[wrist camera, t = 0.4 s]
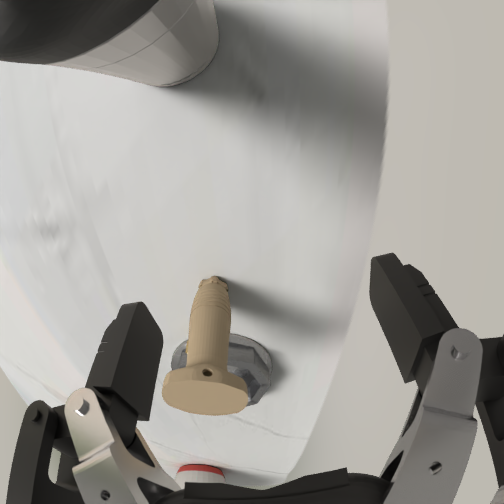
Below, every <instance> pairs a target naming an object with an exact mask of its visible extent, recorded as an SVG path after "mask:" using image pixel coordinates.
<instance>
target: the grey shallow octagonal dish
mask: <svg viewBox="0 0 504 504" xmlns="http://www.w3.org/2000/svg"><path fill="white" fill-rule="evenodd" d="M187 352H188V340H186V341H184V342H183V343H182V344H180V345H179V346H178V347H177V349H176V350H175V352H174V354H173V356H172V362H171V368H172V370H176V369H180V368H184V367H186V364H187ZM227 370H228V372H230V373H232V374H234V375H236V376H238V377H240V378H242V379H243V380H244V381H245V383H246V385H247V390H248V403H247V405H246V406H250V405H253V404H257V403H258V402H259V400H260V399H261V398H262V396H263V395H264V393H265V392H266V391H267V389H268V388H269V387H270V385H271V383H270V375H271V372H272V362H271V358H270V356H269V354H268V352H267V351H266V350H265V349H264V348H263V347H262V346H261V345H260V344H258V343H257V342H255V341H253V340H251V339H249V338H246V337H244V336H240V335H236V334H231V333H230V336H229V347H228V362H227Z"/></svg>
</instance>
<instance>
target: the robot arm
mask: <svg viewBox="0 0 504 504" xmlns="http://www.w3.org/2000/svg"><path fill="white" fill-rule="evenodd" d="M218 43H219V30H218V25H217V19H216V14H215V9H214V4H213V0H0V60H1V61H7V62H16V63H29V64H44V65H52V66H60V67H67V68H73V69H80V70H86V71H91V72H96V73H101V74H106V75H111V76H115V77H119V78H124V79H128V80H132V81H135V82H139V83H143V84H147V85H152V86H158V87H165V86H173V85H178V84H181V83H183V82H186V81H188V80H190V79H192V78H193V77H195V76H197V75H198V74H199V73H201V72H202V71H203V70H204V69H205V68H206V67H207V66H208V64H209V63H210V62H211V60H212V59H213V57H214V55H215V53H216V51H217V47H218ZM369 292H370V301H371V305H372V307H373V310H374V312H375V314H376V316H377V318H378V321H379V323H380V325H381V327H382V330H383V332H384V334H385V336H386V339H387V341H388V343H389V346H390V348H391V350H392V352H393V355H394V357H395V360H396V362H397V365H398V367H399V370H400V372H401V375H402V377H403V380H404V382H405V383H408V382H411V381H414V380H416V383H417V385H418V389H417V392H416V395H415V398H414V401H413V404H412V406H411V409H410V412H409V415H408V417H407V420H406V422H405V425H404V428H403V430H402V432H401V435H400V437H399V439H398V441H397V443H396V445H395V447H394V449H393V450H392V453H391V454H390V456H389V458H388V460H387V462H386V464H385V466H384V468H383V470H382V472H381V474H380V476H379V477H376V476H373V475H368V474H361V473H347V468H342V469H338V470H333V471H329V472H323V473H318V474H313V475H307V476H303V477H301V478H298V479H296V480H293V481H290V482H288V483H285V484H282V485H279V486H276V487H273V488H270V489H266V490H256V489H250V488H244V487H239V486H234V485H229V484H225V483H198V482H185V486H184V489H181V488H180V486H179V485H178V484H177V483H176V482H175V480H174V479H173V478H172V477H170V476H169V475H168V474H167V473H166V472H165V471H164V470H163V469H162V467H161V466H160V464H159V463H158V461H157V460H156V458H155V457H154V455H153V453H152V452H151V450H150V448H149V447H148V445H147V443H146V442H145V440H144V438H143V436H142V435H141V433H140V431H139V430H138V429H137V428H136V424H137V420H138V421H149V418H150V412H151V406H152V400H153V394H154V389H155V383H156V378H157V373H158V368H159V363H160V358H161V353H162V348H163V335H162V332H161V330H160V328H159V326H158V325H157V323H156V321H155V320H154V318H153V317H152V315H151V313H150V312H149V310H148V308H147V307H146V305H145V304H144V303H143V302H136V303H129V304H124V305H122V306H121V308H120V310H119V313H118V315H117V318H116V319H115V320H113V321H112V323H111V324H110V325H109V326H108V328H107V329H106V330H105V333H104V335H103V338H102V341H101V344H100V346H99V349H98V353H97V354H96V357H95V360H94V362H93V365H92V368H91V371H90V374H89V377H88V380H87V383H86V386H85V388H81V389H78V390H76V391H75V392H73V393H72V394H71V395H70V396H69V398H68V399H67V401H66V404H65V405H62V406H58V407H54V408H51V407H50V406H49V405H47V404H46V403H45V402H44V401H41V400H37V401H35V402H33V403H32V404H31V405H30V406H29V407H28V408H27V410H26V412H25V415H24V418H23V422H22V426H21V429H20V433H19V437H18V441H17V444H16V449H15V453H14V458H13V462H12V468H11V473H10V479H9V485H8V492H7V500H6V504H452V503H453V500H454V498H455V496H456V493H457V491H458V488H459V486H460V483H461V480H462V477H463V475H464V472H465V469H466V466H467V463H468V460H469V457H470V454H471V450H472V447H473V443H474V440H475V436H476V432H477V420H476V419H475V418H473V411H474V406H475V404H476V407H477V410H478V413H479V416H480V419H481V422H482V425H483V428H484V431H485V434H486V437H487V441H488V444H489V448H490V451H491V455H492V459H493V463H494V467H495V471H496V476H497V481H498V485H499V489H498V491H497V492H496V494H495V496H494V498H493V500H492V501H491V503H490V504H504V335H503V337H498V338H488V339H479V338H478V337H477V336H476V335H475V334H474V333H473V332H471V331H469V330H467V329H462V328H459V327H458V326H457V324H456V323H455V321H454V320H453V318H452V317H451V315H450V313H449V312H448V310H447V309H446V307H445V306H444V304H443V303H442V301H441V300H440V298H439V297H438V295H437V294H435V291H434V289H433V288H432V286H431V285H429V282H428V281H427V279H426V278H425V277H424V275H423V274H422V272H420V271H419V270H417V269H416V268H414V267H413V266H411V265H410V264H408V265H404V266H403V265H402V263H401V262H400V260H399V259H398V258H397V256H396V255H395V254H394V253H389V254H385V255H380V256H376V257H373V258H372V259H371V273H370V291H369ZM52 447H53V448H55V449H57V450H58V451H60V452H61V458H60V464H59V469H58V476H57V481H56V483H55V484H54V483H53V482H51V480H50V479H49V476H48V469H49V463H50V458H51V452H52Z"/></svg>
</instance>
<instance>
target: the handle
mask: <svg viewBox="0 0 504 504" xmlns="http://www.w3.org/2000/svg"><path fill="white" fill-rule="evenodd" d="M227 292H228V287H227V284H226V283H225V282H222V281H220V280H219V279H218V277H215V276H212V277H211V278H210V279H207V280H202V281H201V282H200V284H199V290H198V292H197V293H196V296H195V298H194V301H193V305H192V309H191V314H190V323H189V339H188V352H187V364H186V367H184V368H180V369H176V370H172V371H170V372H169V373H168V374H167V375H166V377H165V379H164V383H163V388H162V397H163V399H164V401H165V402H166V403H167V404H168V405H169V406H172V407H174V408H177V409H180V410H183V411H186V412H189V413H194V414H202V415H214V416H216V415H227V414H233V413H238V412H240V411H242V410H243V409H244V408H245V407H246V405H247V403H248V390H247V385H246V383H245V381H244V380H243V379H242V378H240V377H238V376H236V375H234V374H232V373H230V372H228V370H227V362H228V347H229V336H230V326H231V308H230V300H229V296H228V293H227Z"/></svg>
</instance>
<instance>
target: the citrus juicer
mask: <svg viewBox="0 0 504 504" xmlns="http://www.w3.org/2000/svg"><path fill="white" fill-rule="evenodd" d="M175 482H176V483H177V484H178V485H179V486H180V488H181V489H184V486H185V482H198V483H225V484H226V481H225V477H224V475H223V473H222V471H221V470H220V469H218V468H215V467H211V466H208V465H185V466H182V467H180V469H179V470H178V472H177V475H176V477H175Z"/></svg>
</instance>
